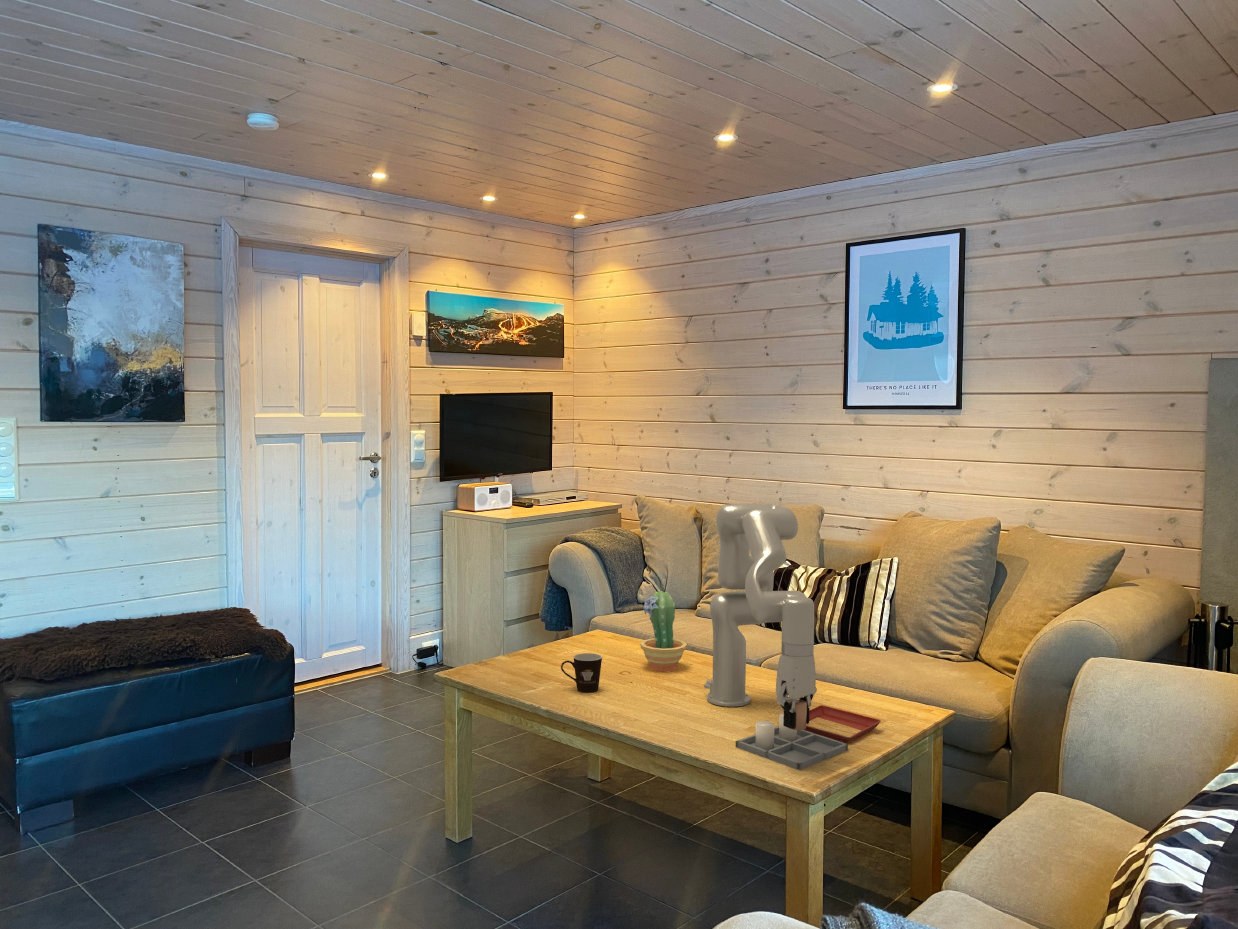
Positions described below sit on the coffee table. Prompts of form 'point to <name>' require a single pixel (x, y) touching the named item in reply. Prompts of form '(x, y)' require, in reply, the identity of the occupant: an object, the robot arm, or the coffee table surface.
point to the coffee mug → (586, 671)
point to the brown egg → (800, 714)
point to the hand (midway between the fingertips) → (796, 724)
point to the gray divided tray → (796, 749)
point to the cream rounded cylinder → (786, 730)
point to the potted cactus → (662, 634)
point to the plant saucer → (841, 722)
